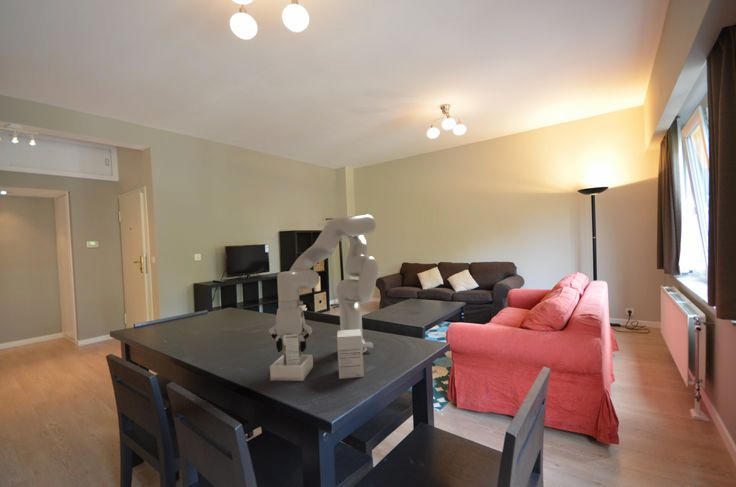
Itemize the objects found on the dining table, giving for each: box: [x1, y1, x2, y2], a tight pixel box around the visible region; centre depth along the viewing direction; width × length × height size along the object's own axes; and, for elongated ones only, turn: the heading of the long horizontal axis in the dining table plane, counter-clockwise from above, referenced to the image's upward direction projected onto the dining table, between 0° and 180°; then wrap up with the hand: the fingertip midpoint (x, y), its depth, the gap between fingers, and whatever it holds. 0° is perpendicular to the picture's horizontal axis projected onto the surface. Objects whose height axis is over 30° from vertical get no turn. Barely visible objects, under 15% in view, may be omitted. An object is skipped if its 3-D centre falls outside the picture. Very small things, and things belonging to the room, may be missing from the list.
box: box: [269, 354, 314, 382], centre depth 123 cm, size 12×12×5 cm
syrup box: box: [282, 334, 303, 366], centre depth 123 cm, size 6×6×14 cm
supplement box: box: [336, 329, 365, 380], centre depth 121 cm, size 9×9×15 cm
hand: (291, 350), depth 123 cm, fingers open, 8 cm apart
